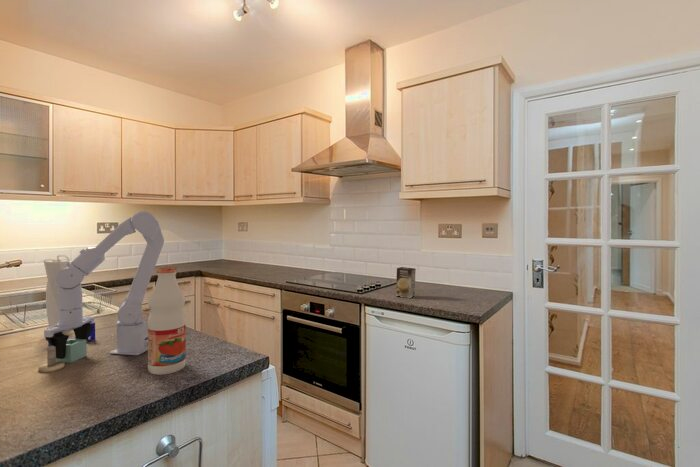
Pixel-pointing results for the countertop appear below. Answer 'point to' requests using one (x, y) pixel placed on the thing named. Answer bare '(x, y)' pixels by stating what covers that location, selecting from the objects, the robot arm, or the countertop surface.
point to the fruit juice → (166, 325)
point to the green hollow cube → (74, 350)
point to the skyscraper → (53, 288)
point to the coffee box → (405, 282)
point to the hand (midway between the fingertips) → (71, 353)
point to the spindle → (51, 361)
